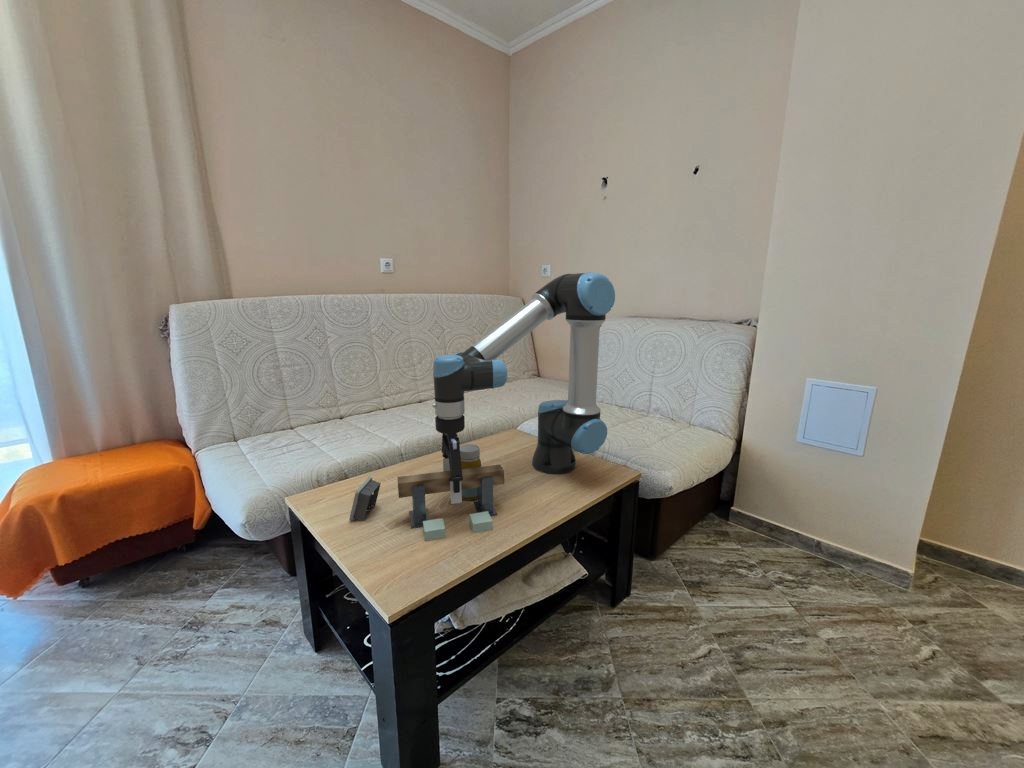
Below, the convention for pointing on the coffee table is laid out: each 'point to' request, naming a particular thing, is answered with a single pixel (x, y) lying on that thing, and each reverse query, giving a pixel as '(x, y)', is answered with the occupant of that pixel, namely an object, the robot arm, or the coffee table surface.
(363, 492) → the electrical switch
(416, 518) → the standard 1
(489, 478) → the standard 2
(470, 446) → the bottle
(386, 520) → the coffee table surface
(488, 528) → the blocks
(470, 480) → the rail
